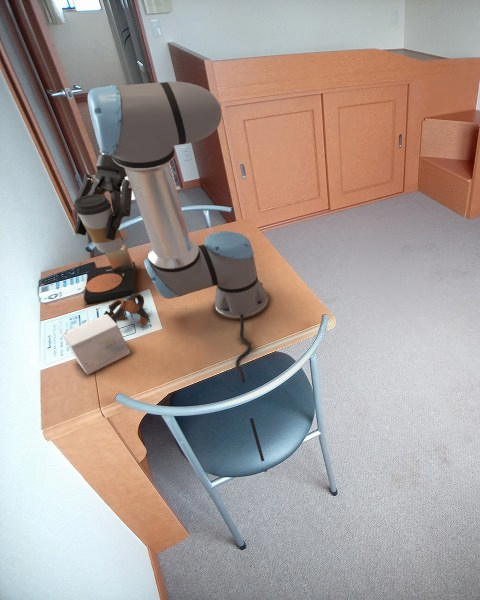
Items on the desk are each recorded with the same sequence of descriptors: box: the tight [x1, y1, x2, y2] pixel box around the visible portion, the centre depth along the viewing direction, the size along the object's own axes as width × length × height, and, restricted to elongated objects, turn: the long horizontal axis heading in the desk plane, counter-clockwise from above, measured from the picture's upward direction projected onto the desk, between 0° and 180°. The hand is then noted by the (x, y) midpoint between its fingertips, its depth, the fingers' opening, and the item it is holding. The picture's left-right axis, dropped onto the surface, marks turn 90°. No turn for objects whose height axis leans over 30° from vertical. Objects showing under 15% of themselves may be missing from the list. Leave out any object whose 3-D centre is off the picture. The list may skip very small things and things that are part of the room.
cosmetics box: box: [61, 314, 131, 375], centre depth 107 cm, size 10×6×10 cm, turn 140°
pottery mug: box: [103, 292, 150, 327], centre depth 121 cm, size 12×10×8 cm
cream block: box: [105, 244, 134, 272], centre depth 135 cm, size 6×3×8 cm, turn 115°
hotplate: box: [83, 261, 140, 306], centre depth 134 cm, size 18×15×3 cm
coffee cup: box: [73, 194, 124, 254], centre depth 119 cm, size 8×8×15 cm
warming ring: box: [85, 274, 122, 293], centre depth 131 cm, size 10×10×1 cm
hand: (94, 236), depth 117 cm, fingers closed on coffee cup, 8 cm apart
